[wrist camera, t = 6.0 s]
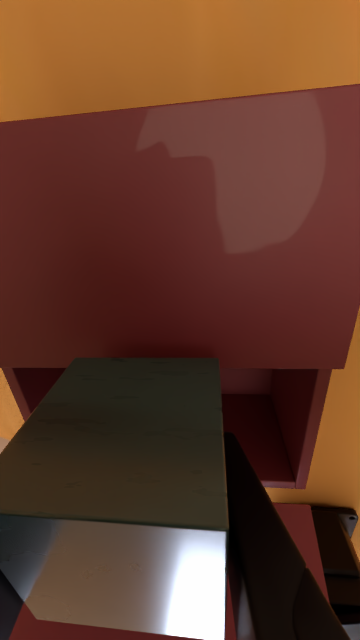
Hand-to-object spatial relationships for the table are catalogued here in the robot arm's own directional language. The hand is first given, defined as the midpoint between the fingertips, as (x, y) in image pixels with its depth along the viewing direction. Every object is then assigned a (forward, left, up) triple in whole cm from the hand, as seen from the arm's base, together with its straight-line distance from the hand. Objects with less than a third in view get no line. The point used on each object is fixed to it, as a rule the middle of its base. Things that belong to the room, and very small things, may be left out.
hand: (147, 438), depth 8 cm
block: (0, 0, -1) cm, 1 cm away
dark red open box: (+1, 0, -9) cm, 9 cm away
